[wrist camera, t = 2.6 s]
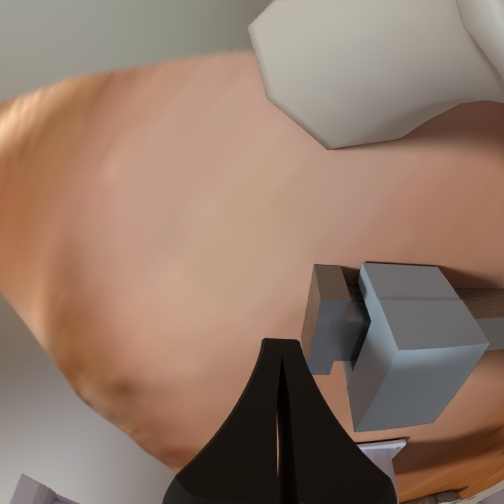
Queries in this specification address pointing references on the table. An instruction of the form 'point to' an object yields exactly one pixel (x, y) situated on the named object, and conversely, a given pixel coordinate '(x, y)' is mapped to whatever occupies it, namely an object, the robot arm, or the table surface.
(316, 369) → the rail
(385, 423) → the block
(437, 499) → the brain slice
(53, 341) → the table surface
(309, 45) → the flask
